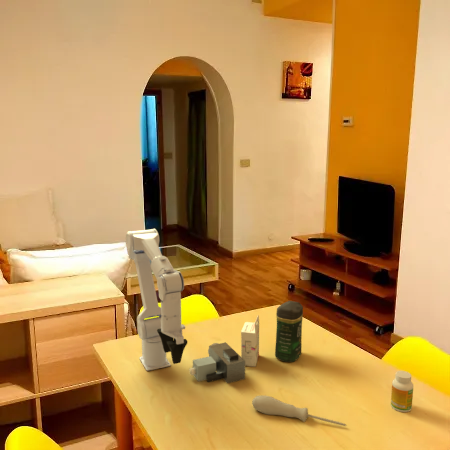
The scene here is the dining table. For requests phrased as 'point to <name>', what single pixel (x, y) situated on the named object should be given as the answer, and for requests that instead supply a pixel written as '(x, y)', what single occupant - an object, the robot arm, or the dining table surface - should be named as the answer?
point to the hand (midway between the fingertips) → (172, 357)
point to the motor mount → (226, 363)
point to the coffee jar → (289, 331)
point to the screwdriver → (283, 409)
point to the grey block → (203, 368)
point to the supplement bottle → (402, 392)
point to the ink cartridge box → (250, 342)
